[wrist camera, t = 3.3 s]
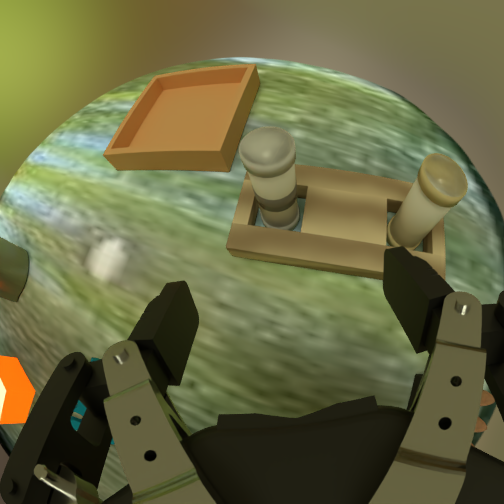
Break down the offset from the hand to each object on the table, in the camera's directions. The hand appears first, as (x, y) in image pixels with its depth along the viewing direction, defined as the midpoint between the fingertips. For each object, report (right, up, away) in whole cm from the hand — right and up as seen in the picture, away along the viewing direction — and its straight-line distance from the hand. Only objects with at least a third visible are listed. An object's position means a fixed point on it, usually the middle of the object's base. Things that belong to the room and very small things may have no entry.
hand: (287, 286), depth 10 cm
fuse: (+14, +3, +14) cm, 20 cm away
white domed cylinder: (+2, +5, +17) cm, 18 cm away
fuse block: (+8, +4, +16) cm, 18 cm away
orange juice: (-39, -22, +16) cm, 48 cm away
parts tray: (-11, +20, +25) cm, 34 cm away
